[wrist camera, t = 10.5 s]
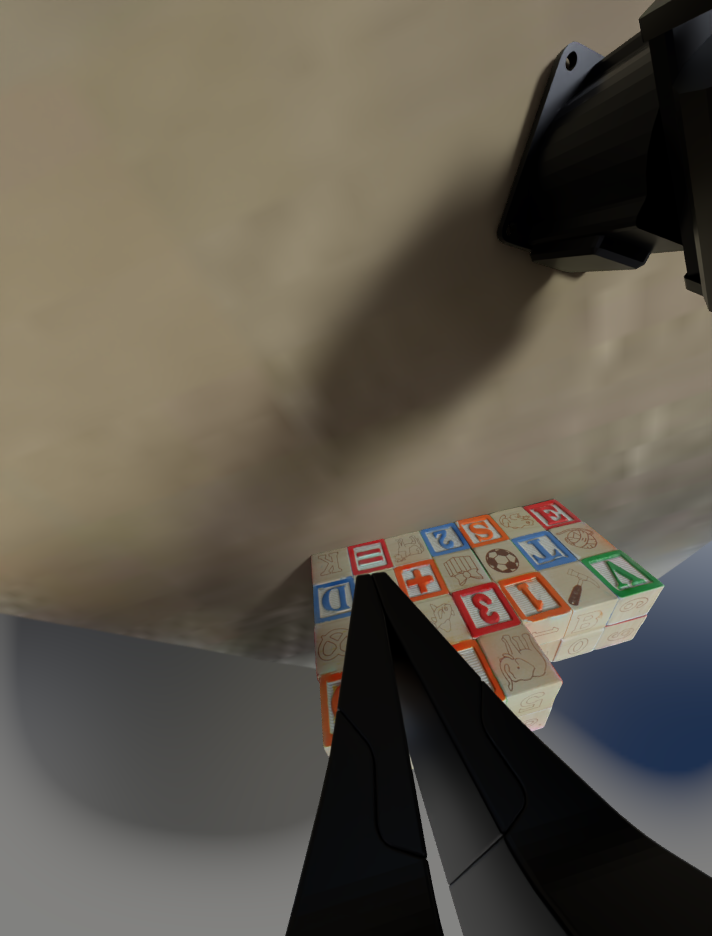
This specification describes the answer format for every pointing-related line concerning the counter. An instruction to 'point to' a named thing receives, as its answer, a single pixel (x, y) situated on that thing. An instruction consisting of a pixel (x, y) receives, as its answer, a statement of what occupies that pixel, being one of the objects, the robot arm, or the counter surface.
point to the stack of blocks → (493, 599)
